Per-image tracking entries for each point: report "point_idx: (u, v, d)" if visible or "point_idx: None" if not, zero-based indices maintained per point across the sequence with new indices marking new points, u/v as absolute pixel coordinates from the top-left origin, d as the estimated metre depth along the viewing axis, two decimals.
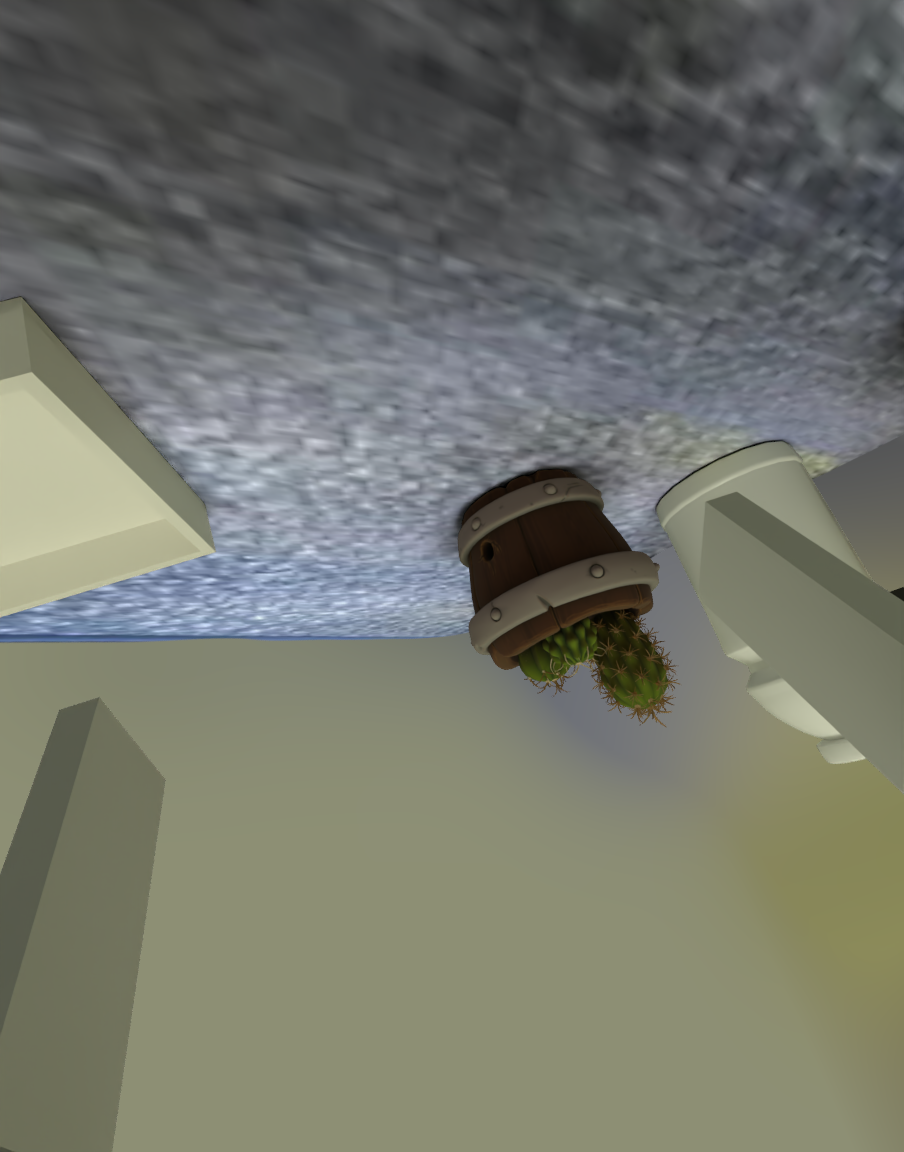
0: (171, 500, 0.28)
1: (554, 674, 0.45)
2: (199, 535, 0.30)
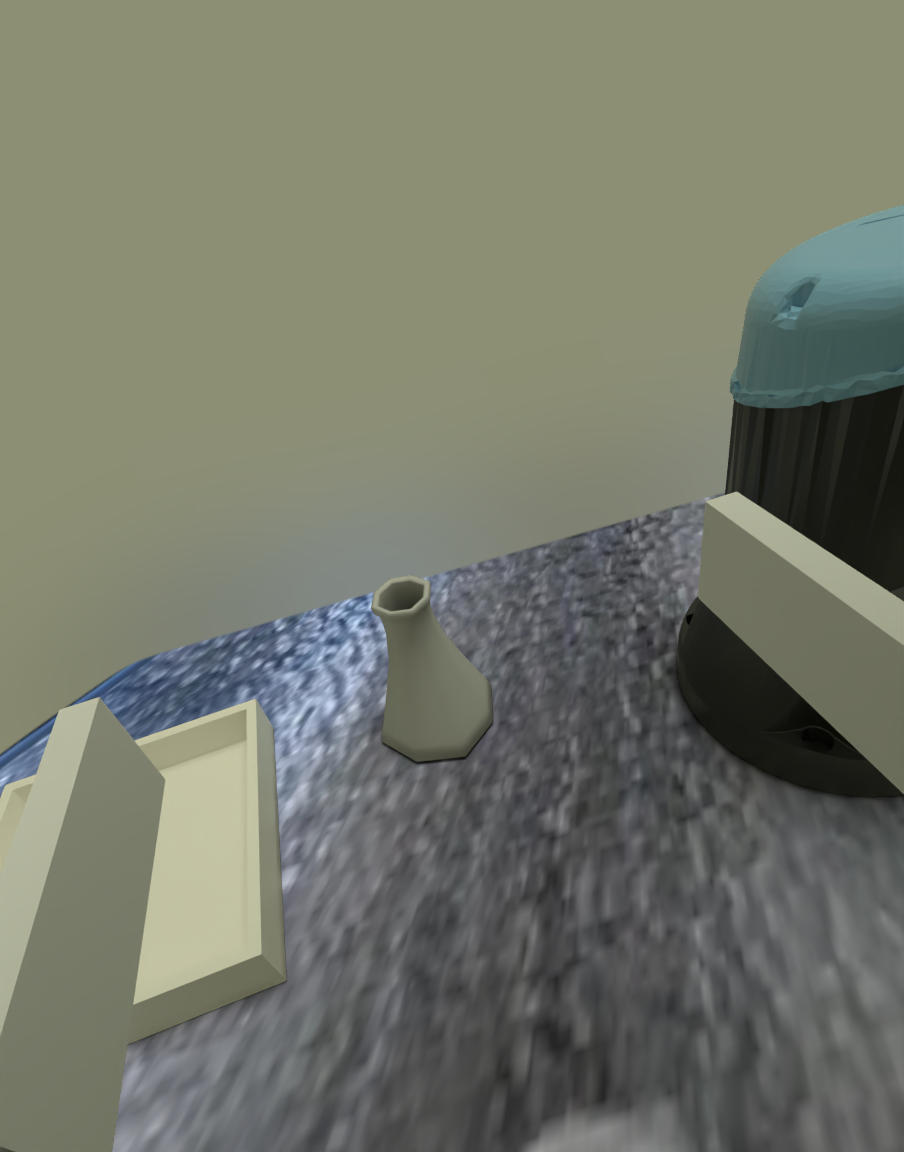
0: None
1: None
2: None
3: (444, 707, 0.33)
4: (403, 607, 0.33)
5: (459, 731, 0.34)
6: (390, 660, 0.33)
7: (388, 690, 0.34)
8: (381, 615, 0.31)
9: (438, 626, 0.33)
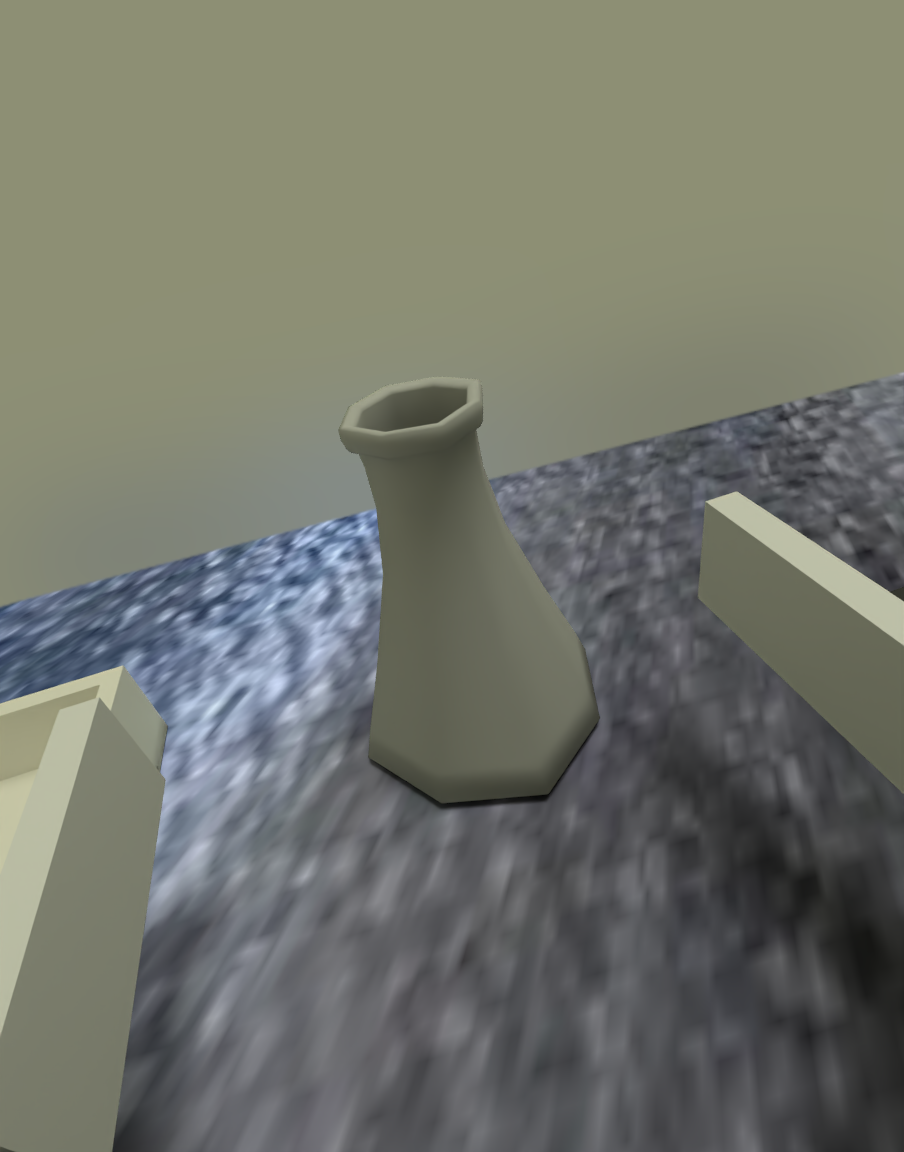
0: None
1: None
2: None
3: (507, 684, 0.15)
4: None
5: (536, 739, 0.15)
6: (386, 576, 0.15)
7: (382, 647, 0.16)
8: (362, 446, 0.12)
9: (495, 501, 0.15)
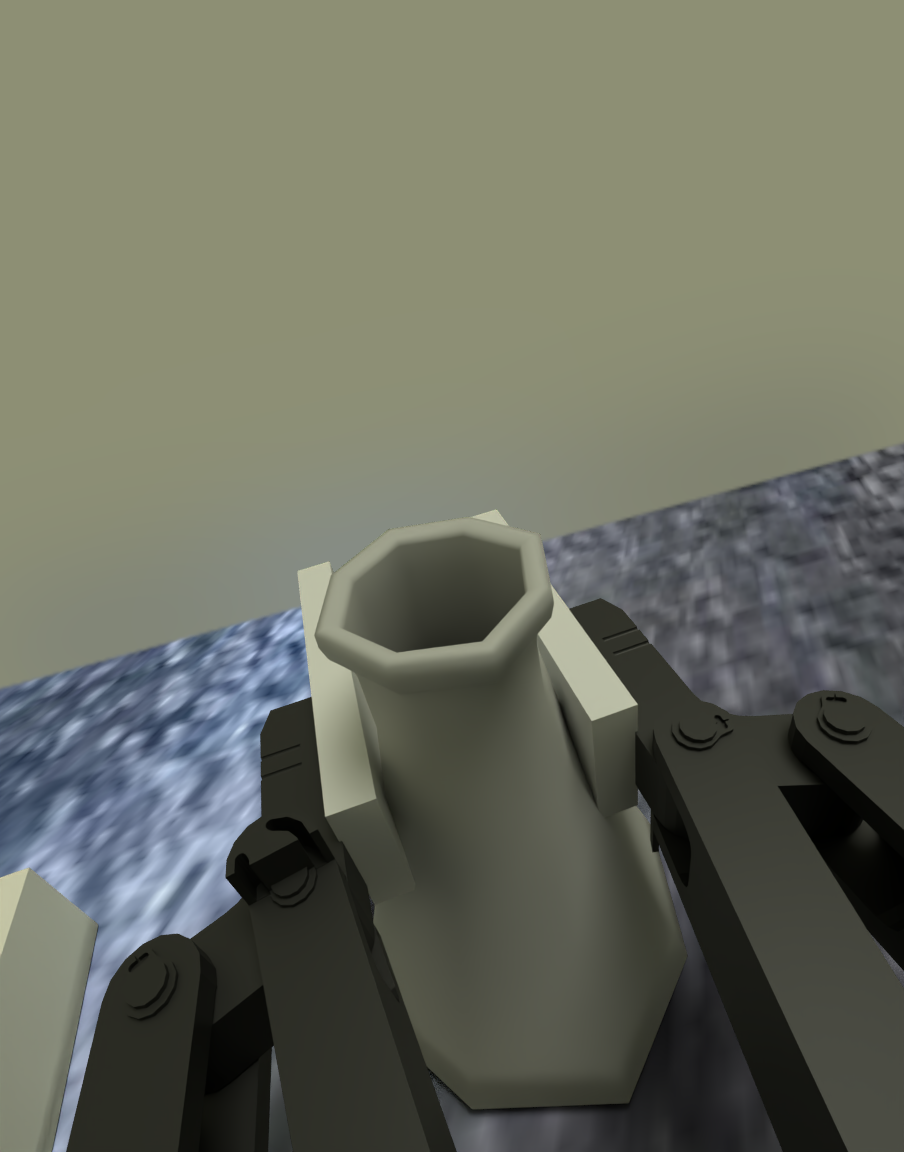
0: None
1: None
2: None
3: (574, 967, 0.10)
4: (436, 629, 0.10)
5: (613, 1029, 0.11)
6: (391, 810, 0.10)
7: None
8: (355, 667, 0.07)
9: (553, 694, 0.10)
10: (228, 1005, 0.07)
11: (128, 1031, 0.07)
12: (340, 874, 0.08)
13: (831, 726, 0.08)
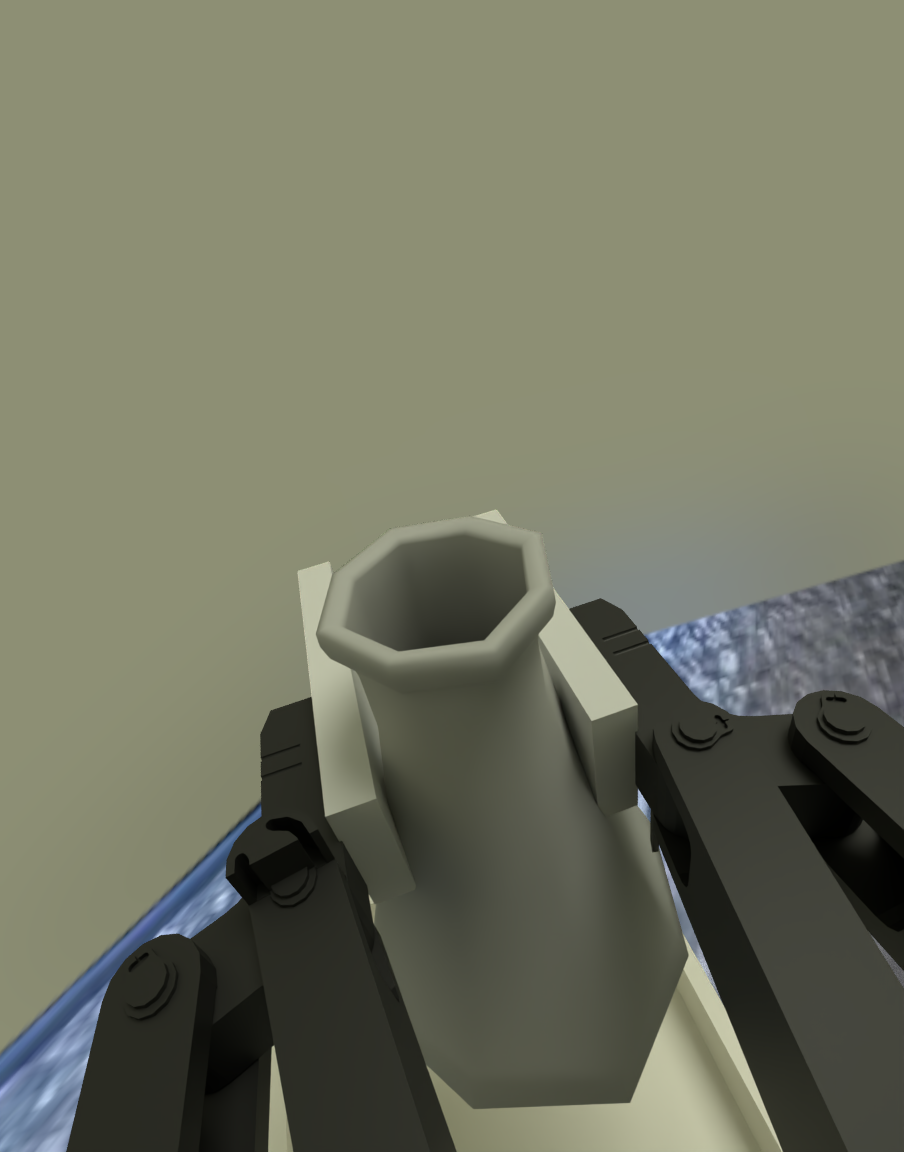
0: None
1: None
2: None
3: (575, 966, 0.10)
4: (437, 629, 0.10)
5: (614, 1029, 0.11)
6: (392, 809, 0.10)
7: None
8: (357, 666, 0.07)
9: (554, 693, 0.10)
10: (228, 1005, 0.07)
11: (128, 1030, 0.07)
12: (340, 874, 0.08)
13: (831, 726, 0.08)
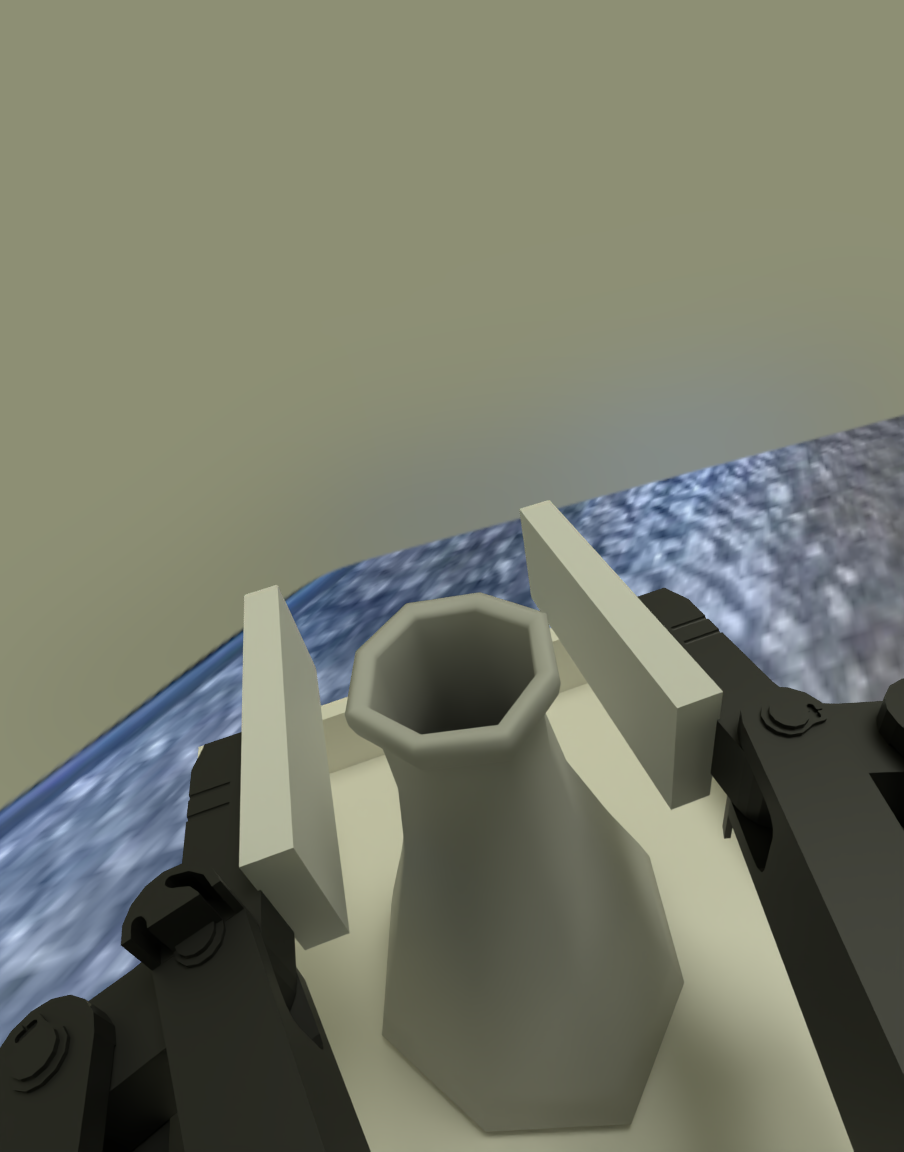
0: None
1: None
2: None
3: (579, 1001, 0.11)
4: (449, 690, 0.11)
5: (615, 1056, 0.11)
6: (410, 859, 0.11)
7: (402, 931, 0.12)
8: (382, 745, 0.08)
9: (558, 749, 0.11)
10: (128, 1062, 0.07)
11: (14, 1106, 0.06)
12: (250, 924, 0.08)
13: None
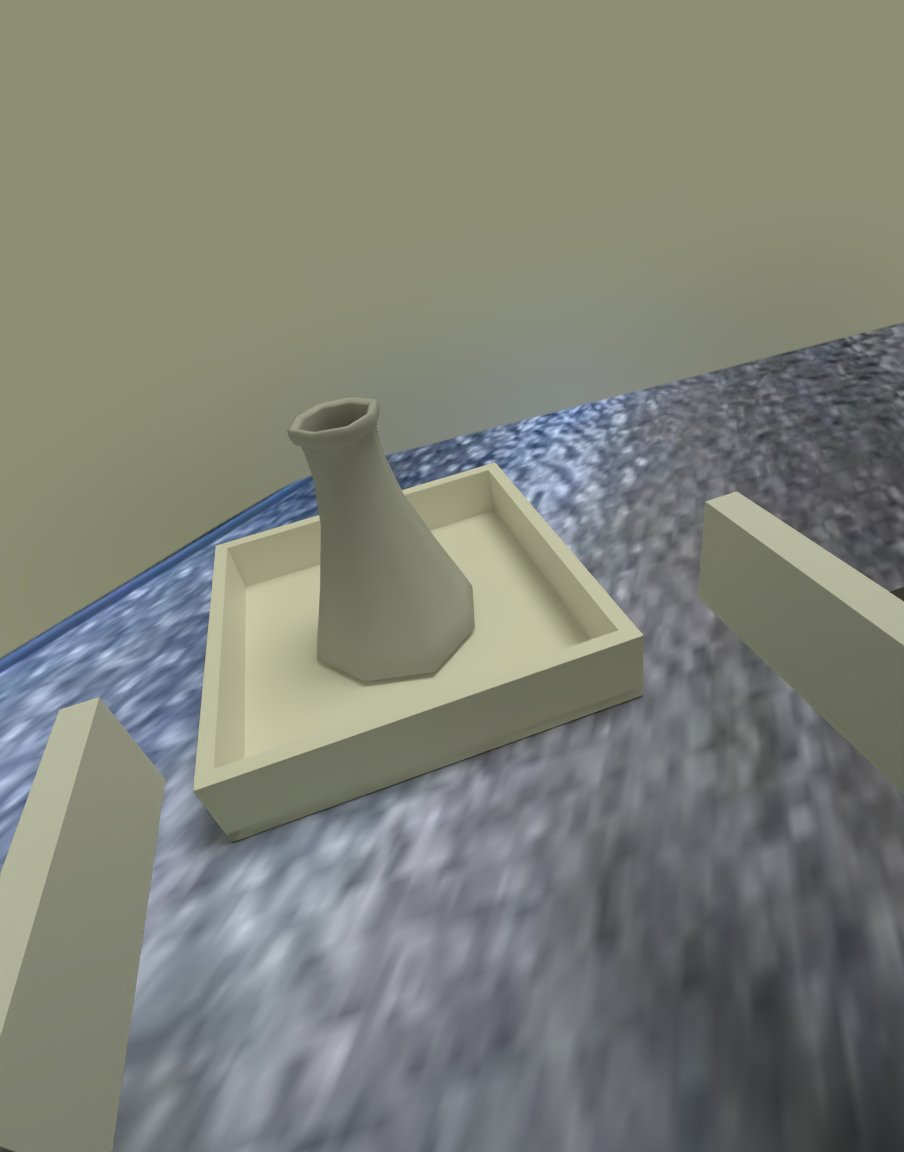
0: (364, 744, 0.19)
1: None
2: (265, 766, 0.19)
3: (402, 596, 0.23)
4: None
5: (425, 634, 0.23)
6: (322, 526, 0.23)
7: (322, 576, 0.24)
8: (302, 440, 0.20)
9: (393, 477, 0.23)
10: None
11: None
12: None
13: None
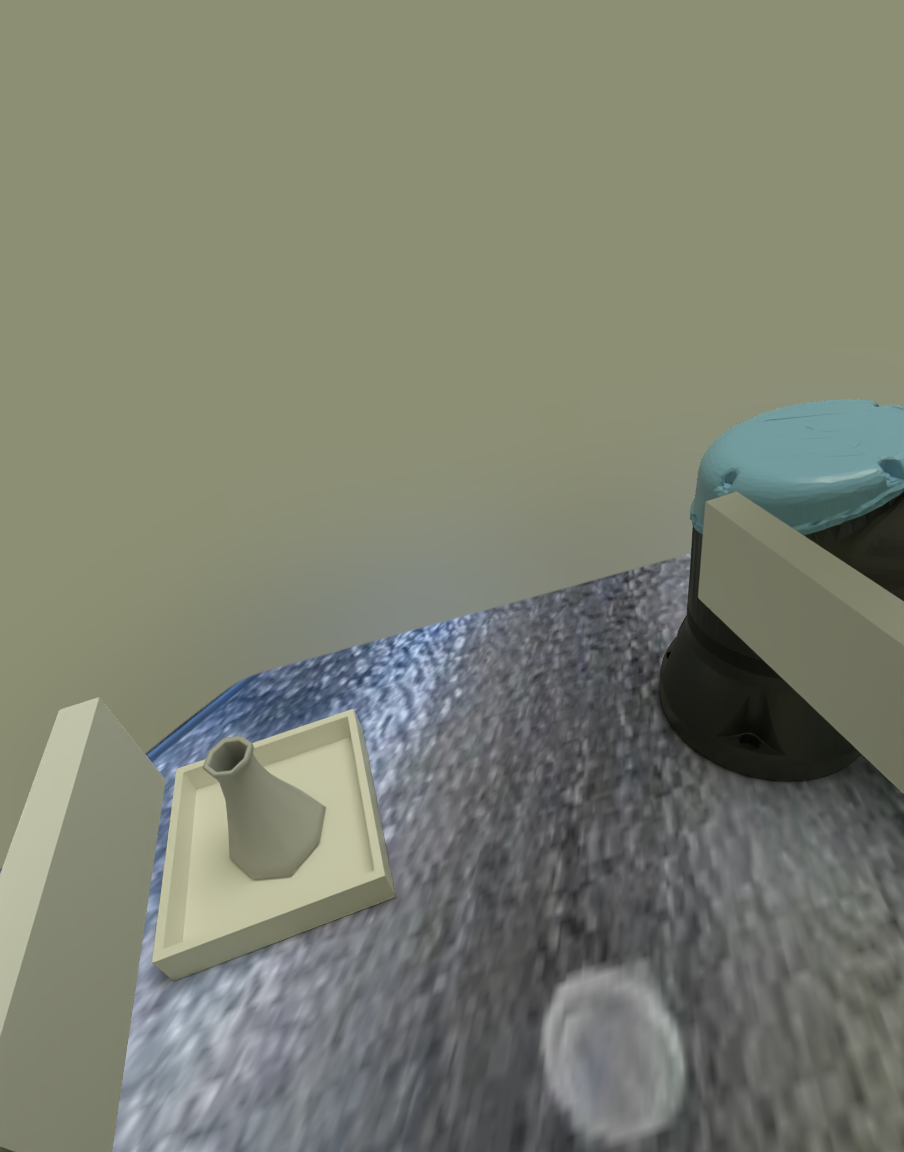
0: (238, 935, 0.38)
1: None
2: (187, 949, 0.38)
3: (270, 838, 0.42)
4: (238, 758, 0.42)
5: (285, 855, 0.42)
6: (226, 801, 0.42)
7: (228, 822, 0.43)
8: None
9: (265, 773, 0.42)
10: None
11: None
12: None
13: None
